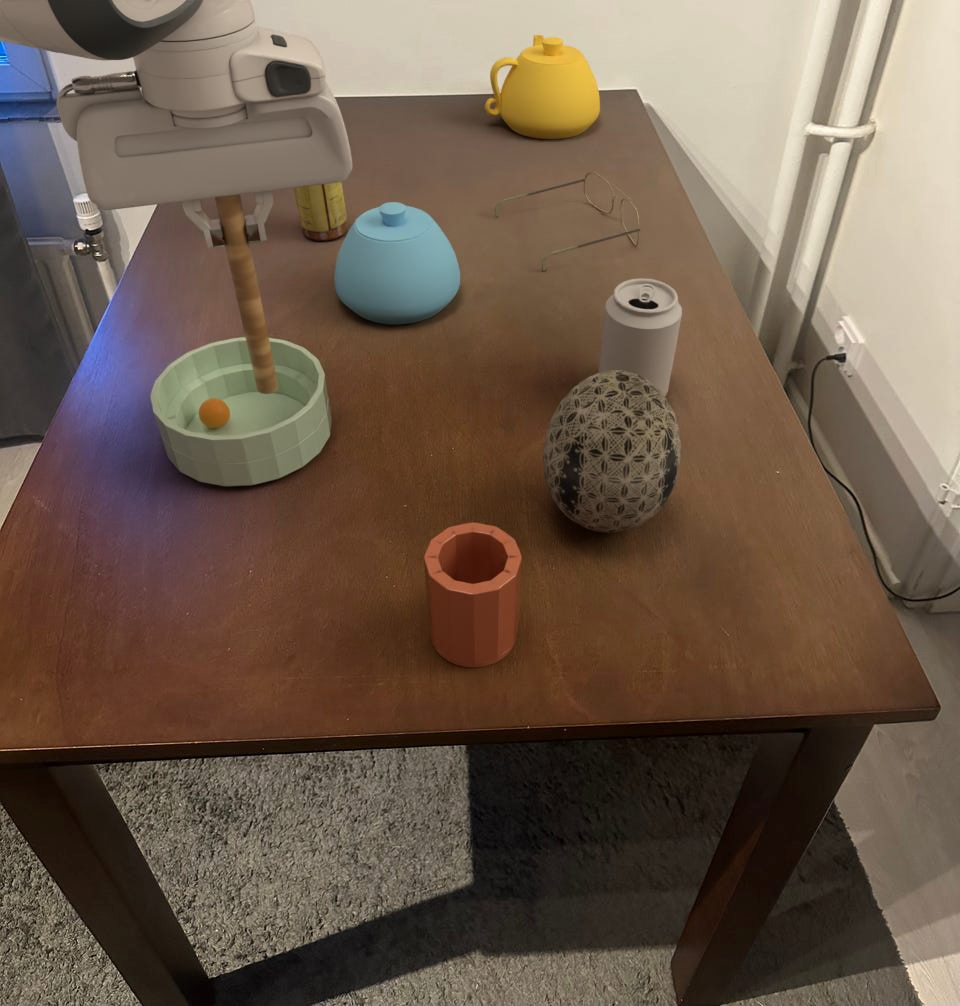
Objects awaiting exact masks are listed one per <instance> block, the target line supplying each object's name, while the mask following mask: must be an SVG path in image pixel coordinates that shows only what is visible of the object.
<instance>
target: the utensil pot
mask: <svg viewBox="0 0 960 1006" xmlns="http://www.w3.org/2000/svg"><path fill="white" fill-rule="evenodd" d="M516 541H517V540H516V539H515V538H514V537H512V536H511V535H510V534H508V533H506V532H505V531H504V530H502V528H499V527H498V526H496V525H491V524H485V523H479V522H465V523H461V524H456V525H451V526H448V527H447V528H445V529H444V530H443V531H441V532H440V533H438V534H437V535H436V536H434V537H433V538H432V539H430V542H429V543H428V546H427V549H426V551H425V554H424V556H423V563H424V565H423V566H424V577H425V578H424V579H425V580H424V581H425V594H426V609H427V625H428V631H429V634H430V641H431V643H432V646H433V647H434V649H435V651H436V652H437V653H438V654H439V656H441V658H443V659H445V660H446V661H447V662H449V663H451V664H454V665H456V666H460V667H462V668H463V667H464V668H482V667H487V666H491V665H493V664H496V663H498V662H499V661H501V660H502V659H504V658H506V656H507V655H508V654H509V653H510V652H511V651H512V650H513V648H514V646H515V643H516V642H517V638H518V631H519V628H520V626H519V625H520V606H521V605H520V604H521V583H522V562H523V561H522V560H523V556H522V553H521V550H520V548H519V546H518V544H517V542H516Z"/></svg>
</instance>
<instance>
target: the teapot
mask: <svg viewBox="0 0 960 1006" xmlns="http://www.w3.org/2000/svg"><path fill="white" fill-rule="evenodd" d="M507 66H508V67H509V66H510V69H509V71H508V73H507V74H506V77H505V79H504V81H503V83H502V87H501V90H500V88H499V83H498V74H499V71H500V70H501V69H502V68H504V67H507ZM489 80H490V85H491V90H492V93H493V97H490V98H488V99H487V100H486V102H485V105H484V111H485V112H486V114H487V115H489V116H490V117H499V116H500V117H501V119H503V121H504V122H505V124H506V125H507V126H508V127H509V128H510V129H511V130H512V131H513V132H515V133H517V134H519V135H522V136H525V137H529V138H533V139H541V140H559V139H560V140H561V139H566V138H568V139H569V138H573V137H577V136H578V135H581V134H582V133H584V132H586V131H587V130H588V129H589V128H590V127H591V126H592V125H593V124H594V122H596V121H597V119H598V117H599V115H600V112H601V99H600V92H599V86H598V83H597V79H596V77H595V76H594V73H593V70H592V69H591V66H590V64H589V61H587V59H586V57H585V56H584V54H583V53H582V52H581V50H579V49H577V48H575V47H573V46H569V45H565V44H564V40H563V39H562V38H560V37H556V36H549V37H546V38H544V35H543V34H533V42H532V46H529V47H526V48H524V50H522V51H521V52H520V54H519V55H518V56H517V57H516V58H512V57H507V56H506V57H502V58H500V59H498V60H497V61H496V62H495V63H493V65H492V66H491V68H490V73H489ZM492 104H495V107H494V108H492V107H491V105H492Z"/></svg>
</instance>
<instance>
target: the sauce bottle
mask: <svg viewBox="0 0 960 1006" xmlns="http://www.w3.org/2000/svg"><path fill="white" fill-rule="evenodd" d="M293 193H294V198H295V203H296V207H297V212H298V218H299V224H300V225H301V228H302V233H303V234H304V235H305V236H306V237H307V238H309V239H310V240H311V241H316V242H318V241H321V242H322V241H333V240H336V239H339V238H340V237H342V236H344V235H345V233H346V232H347V230H348V223H347V210H346V205H345V204H346V203H345V197H344V189H343V182H339V183H330V184H322V185H314V186H305V187H297V188H293Z"/></svg>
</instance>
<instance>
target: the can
mask: <svg viewBox="0 0 960 1006" xmlns="http://www.w3.org/2000/svg"><path fill="white" fill-rule="evenodd" d="M682 316H683V307H682V306H681V304H680V302H679V295H678V293H677V291H676V289H674V288H673V287H672V286H670V285H669V284H667V283H665V282H663V281H661V280H657V279H653V278H642V277H641V278H640V277H639V278H631V279H627V280H625V281H623V282H621V283H619V284H618V285H616V287H615V288H614V289H613V293H612V294H611V295H610V296H609V297H608V299H607V300H606V302H605V309H604V318H603V327H602V335H601V344H600V353H599V363H598V372H597V373H600V372H603V371H610V370H624V371H630V372H633V373H636V374H638V375H640V376H642V377H644V378H645V379H647V380H648V381H650V382H651V383H652V384H654V385H655V386H656V387H657V388H658V389H659V390H660V391H661V392H662V394H663V395H664V396H665V397H666V396H667V394H668V392H669V387H670V382H671V376H672V372H673V371H672V370H673V365H674V360H675V356H676V349H677V343H678V340H679V339H678V338H679V332H680V327H681V321H682Z"/></svg>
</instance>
